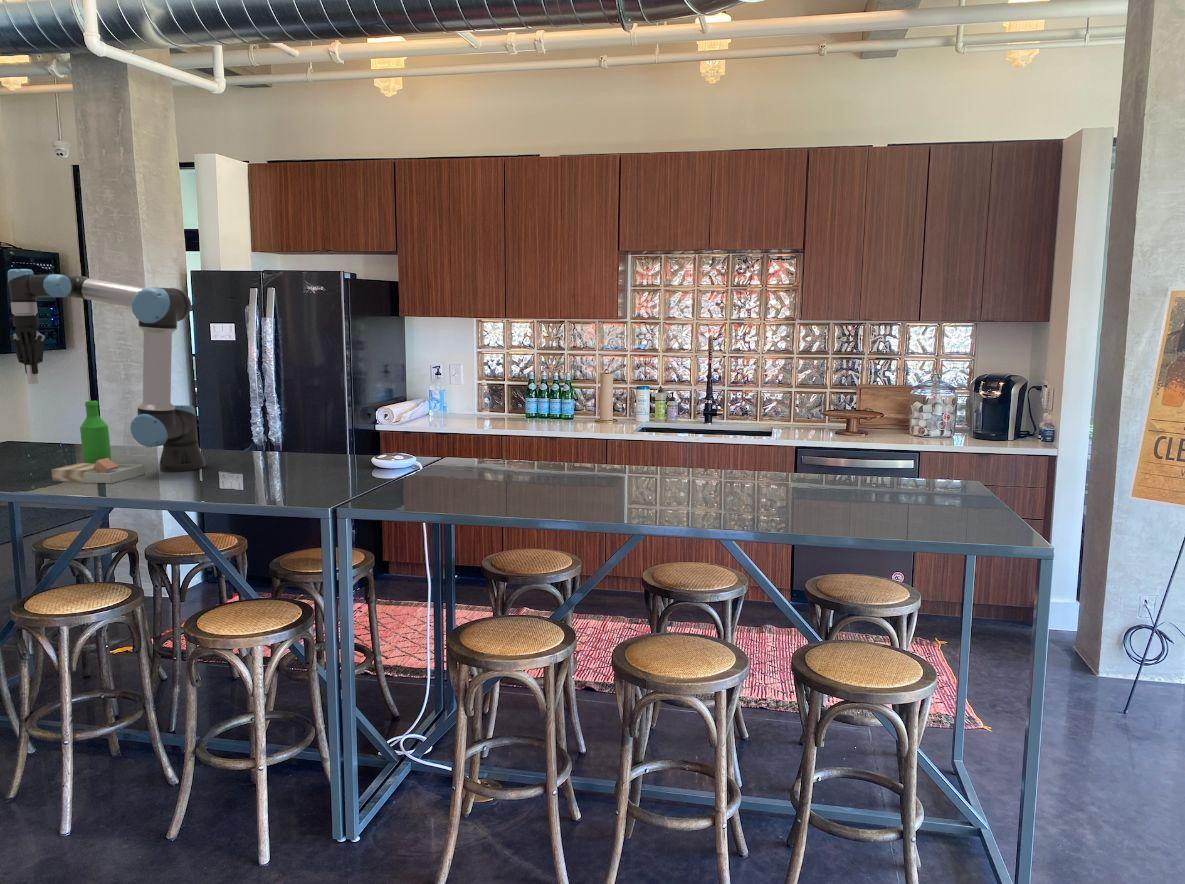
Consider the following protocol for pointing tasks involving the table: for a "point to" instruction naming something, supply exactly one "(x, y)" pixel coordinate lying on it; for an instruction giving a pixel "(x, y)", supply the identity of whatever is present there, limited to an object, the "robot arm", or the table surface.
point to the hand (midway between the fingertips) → (33, 383)
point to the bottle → (94, 435)
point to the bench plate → (72, 472)
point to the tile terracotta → (104, 465)
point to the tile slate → (116, 470)
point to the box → (114, 474)
